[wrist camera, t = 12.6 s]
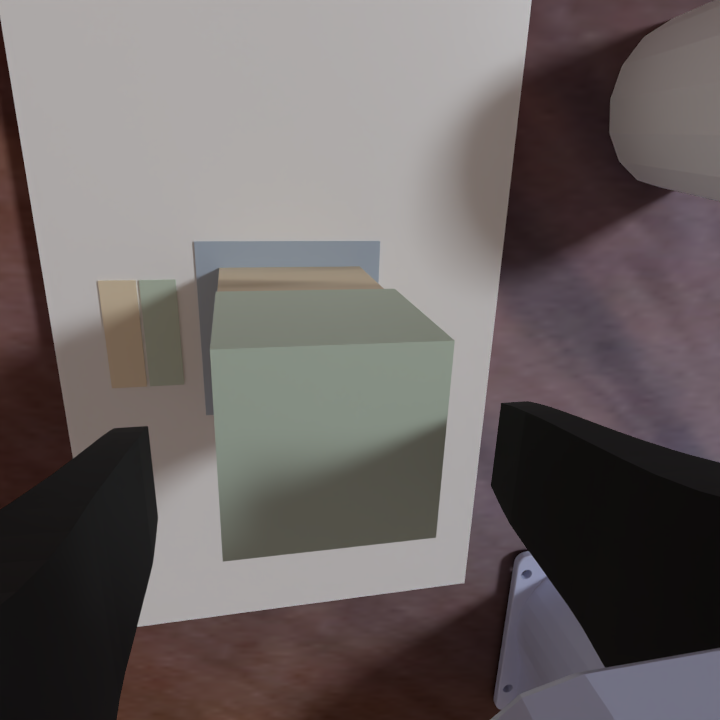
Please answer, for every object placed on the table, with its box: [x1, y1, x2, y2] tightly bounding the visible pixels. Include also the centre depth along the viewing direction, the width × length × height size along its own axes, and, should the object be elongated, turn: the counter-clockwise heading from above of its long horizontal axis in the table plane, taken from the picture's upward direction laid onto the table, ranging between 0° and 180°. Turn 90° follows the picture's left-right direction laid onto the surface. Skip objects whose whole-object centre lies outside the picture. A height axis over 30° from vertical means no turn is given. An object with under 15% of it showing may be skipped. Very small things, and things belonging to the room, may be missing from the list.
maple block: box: [217, 266, 384, 292], centre depth 17 cm, size 5×5×4 cm
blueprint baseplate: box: [0, 0, 532, 627], centre depth 20 cm, size 24×15×1 cm, turn 178°
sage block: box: [210, 289, 455, 562], centre depth 13 cm, size 5×5×4 cm
